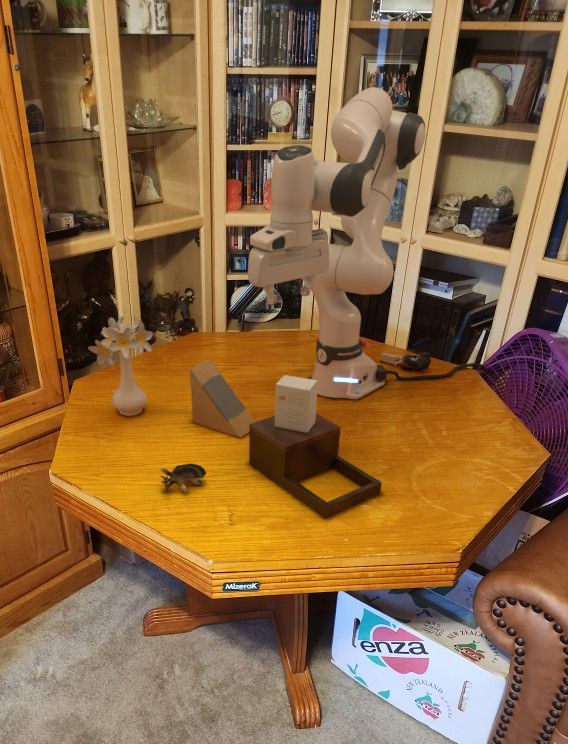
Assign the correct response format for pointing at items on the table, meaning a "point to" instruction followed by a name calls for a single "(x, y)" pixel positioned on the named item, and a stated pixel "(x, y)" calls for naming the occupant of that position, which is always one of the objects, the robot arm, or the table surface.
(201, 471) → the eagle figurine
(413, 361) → the toy figure
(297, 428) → the small box
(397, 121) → the robot arm
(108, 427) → the table surface
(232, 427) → the sandwich container
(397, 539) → the table surface
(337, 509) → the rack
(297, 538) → the table surface
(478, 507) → the table surface
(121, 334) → the flower vase
